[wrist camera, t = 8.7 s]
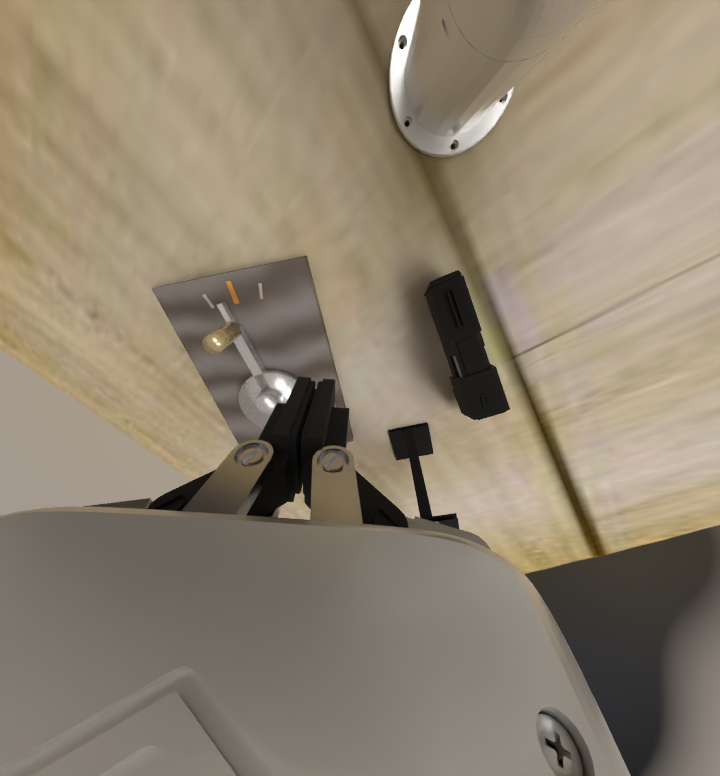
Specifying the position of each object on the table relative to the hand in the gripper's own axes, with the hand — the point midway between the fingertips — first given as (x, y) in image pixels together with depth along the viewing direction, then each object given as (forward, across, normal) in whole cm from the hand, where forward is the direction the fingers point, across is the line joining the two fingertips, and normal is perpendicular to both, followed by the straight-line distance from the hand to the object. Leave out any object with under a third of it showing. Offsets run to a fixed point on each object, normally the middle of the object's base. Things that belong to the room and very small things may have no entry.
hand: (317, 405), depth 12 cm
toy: (+29, -16, +7) cm, 34 cm away
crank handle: (+27, +13, +14) cm, 33 cm away
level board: (+29, +13, +15) cm, 35 cm away
